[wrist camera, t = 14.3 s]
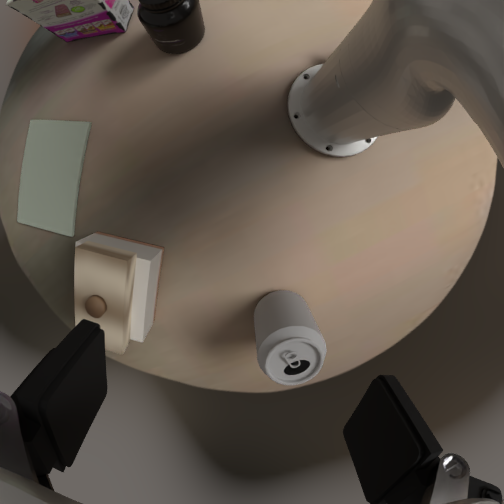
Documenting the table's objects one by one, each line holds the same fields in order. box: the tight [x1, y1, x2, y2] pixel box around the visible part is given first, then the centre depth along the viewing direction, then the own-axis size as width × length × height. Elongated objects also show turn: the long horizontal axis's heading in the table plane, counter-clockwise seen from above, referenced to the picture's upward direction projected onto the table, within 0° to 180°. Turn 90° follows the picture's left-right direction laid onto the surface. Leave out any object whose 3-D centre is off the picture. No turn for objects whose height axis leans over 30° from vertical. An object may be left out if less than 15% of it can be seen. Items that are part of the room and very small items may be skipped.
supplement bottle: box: [138, 0, 205, 54], centre depth 23 cm, size 7×7×12 cm
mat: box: [17, 120, 92, 237], centre depth 32 cm, size 16×12×1 cm
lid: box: [74, 241, 137, 355], centre depth 29 cm, size 12×6×4 cm, turn 166°
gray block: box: [76, 232, 164, 343], centre depth 34 cm, size 11×10×6 cm
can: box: [254, 290, 326, 385], centre depth 33 cm, size 8×8×12 cm
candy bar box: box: [6, 0, 134, 42], centre depth 19 cm, size 11×5×16 cm, turn 82°
